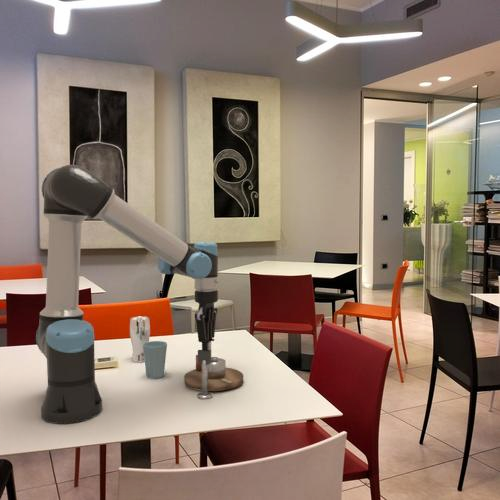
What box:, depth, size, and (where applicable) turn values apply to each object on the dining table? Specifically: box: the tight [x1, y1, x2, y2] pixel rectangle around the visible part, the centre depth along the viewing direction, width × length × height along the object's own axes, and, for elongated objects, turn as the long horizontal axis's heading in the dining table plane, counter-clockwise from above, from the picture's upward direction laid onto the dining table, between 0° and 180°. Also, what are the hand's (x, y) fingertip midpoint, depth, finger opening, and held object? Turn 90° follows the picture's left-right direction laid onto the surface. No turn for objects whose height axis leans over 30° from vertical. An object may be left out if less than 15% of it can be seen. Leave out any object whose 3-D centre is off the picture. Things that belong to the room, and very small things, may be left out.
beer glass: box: [129, 316, 151, 363], centre depth 183 cm, size 7×7×15 cm
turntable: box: [183, 354, 244, 392], centre depth 158 cm, size 18×18×6 cm
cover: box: [207, 356, 227, 379], centre depth 158 cm, size 7×7×6 cm
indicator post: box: [196, 349, 213, 401], centre depth 146 cm, size 4×4×13 cm
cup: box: [143, 340, 168, 379], centre depth 165 cm, size 8×8×10 cm
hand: (206, 361), depth 169 cm, fingers closed
